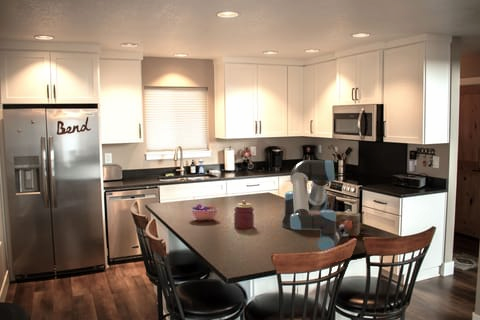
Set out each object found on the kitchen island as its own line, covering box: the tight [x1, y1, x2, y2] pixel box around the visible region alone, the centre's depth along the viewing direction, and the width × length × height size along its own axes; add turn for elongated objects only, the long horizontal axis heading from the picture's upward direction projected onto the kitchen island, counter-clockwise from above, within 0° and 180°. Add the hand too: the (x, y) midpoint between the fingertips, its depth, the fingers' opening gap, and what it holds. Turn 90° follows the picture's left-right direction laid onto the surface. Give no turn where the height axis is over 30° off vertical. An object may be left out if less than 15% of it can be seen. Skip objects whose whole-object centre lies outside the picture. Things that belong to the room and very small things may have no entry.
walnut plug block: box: [334, 210, 361, 237], centre depth 268 cm, size 20×8×12 cm, turn 64°
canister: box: [233, 199, 255, 230], centre depth 280 cm, size 13×13×18 cm
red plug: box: [343, 220, 353, 230], centre depth 263 cm, size 5×13×5 cm, turn 154°
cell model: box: [189, 203, 219, 222], centre depth 300 cm, size 17×20×11 cm
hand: (342, 226), depth 245 cm, fingers closed
